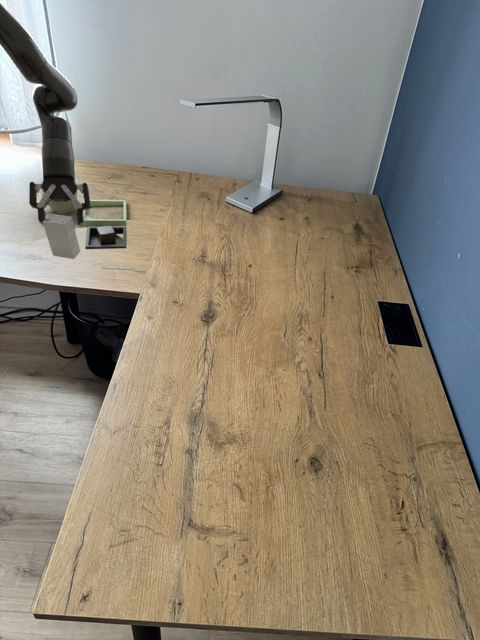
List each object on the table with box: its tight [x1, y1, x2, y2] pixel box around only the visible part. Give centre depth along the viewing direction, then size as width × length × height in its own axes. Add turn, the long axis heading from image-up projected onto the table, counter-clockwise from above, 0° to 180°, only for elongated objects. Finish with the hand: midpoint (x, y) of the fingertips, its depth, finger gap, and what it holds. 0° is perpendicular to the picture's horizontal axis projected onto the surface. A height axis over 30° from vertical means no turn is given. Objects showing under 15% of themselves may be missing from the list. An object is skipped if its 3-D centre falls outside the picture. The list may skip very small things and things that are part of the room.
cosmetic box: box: [42, 213, 81, 260], centre depth 129 cm, size 6×4×12 cm
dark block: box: [97, 226, 116, 245], centre depth 139 cm, size 4×4×4 cm
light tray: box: [80, 199, 128, 228], centre depth 150 cm, size 13×13×3 cm
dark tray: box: [84, 226, 128, 250], centre depth 140 cm, size 11×11×3 cm
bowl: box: [40, 189, 78, 215], centre depth 149 cm, size 10×10×7 cm
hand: (61, 224), depth 127 cm, fingers open, 8 cm apart
